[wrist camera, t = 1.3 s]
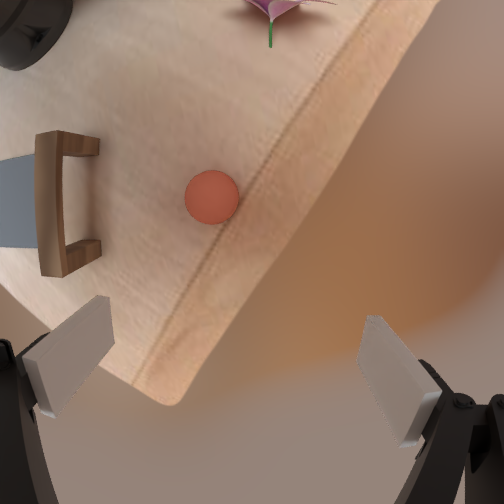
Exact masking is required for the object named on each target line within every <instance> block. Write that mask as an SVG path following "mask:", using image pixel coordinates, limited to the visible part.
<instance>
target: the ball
mask: <svg viewBox="0 0 504 504" xmlns="http://www.w3.org/2000/svg"><path fill="white" fill-rule="evenodd" d="M238 201H239V194H238V189H237V187H236V184H235V183H234V181H233V180H232V179H231V178H230V177H229V176H228V175H226V174H224V173H222V172H219V171H205V172H202V173H200V174H198V175H196V176H195V177H194V178H193V179H192V180H191V181H190V183H189V184H188V186H187V188H186V192H185V204H186V207H187V210H188V211H189V213H190V214H191V215H192V217H194V218H195V219H196V220H198V221H199V222H202V223H205V224H218V223H221V222H224V221H225V220H227V219H228V218H230V217H231V216H232V215H233V213H234V212H235V210H236V208H237V205H238Z"/></svg>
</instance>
